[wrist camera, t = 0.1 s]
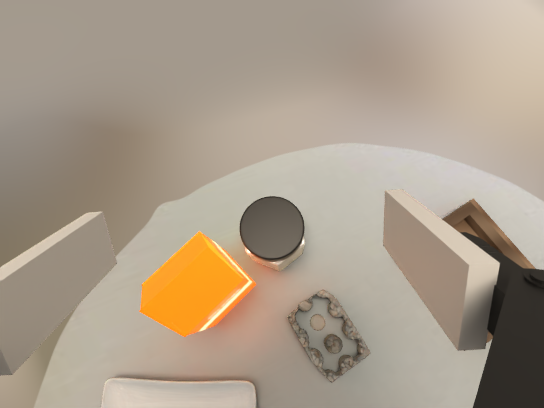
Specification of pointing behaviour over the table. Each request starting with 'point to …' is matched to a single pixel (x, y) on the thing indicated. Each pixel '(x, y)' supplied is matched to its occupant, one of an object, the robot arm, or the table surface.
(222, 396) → the salad plate
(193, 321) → the orange juice
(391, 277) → the table surface
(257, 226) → the jar
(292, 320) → the egg carton
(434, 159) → the table surface
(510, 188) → the table surface
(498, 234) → the walnut stand
